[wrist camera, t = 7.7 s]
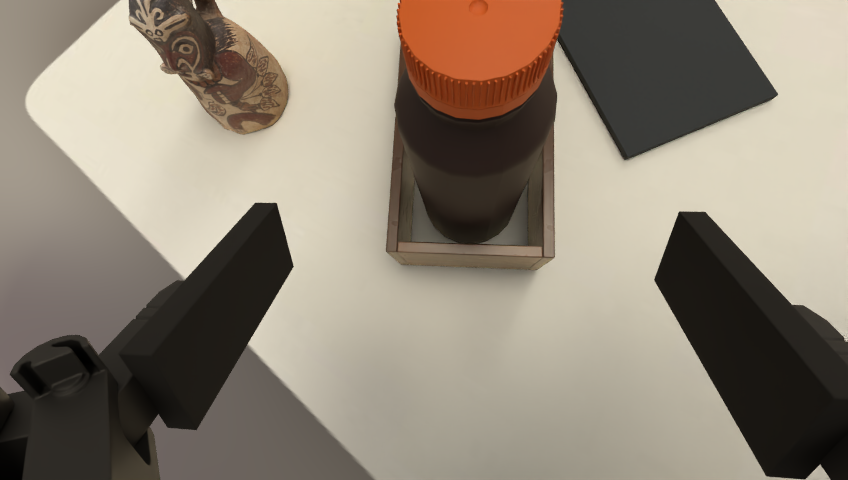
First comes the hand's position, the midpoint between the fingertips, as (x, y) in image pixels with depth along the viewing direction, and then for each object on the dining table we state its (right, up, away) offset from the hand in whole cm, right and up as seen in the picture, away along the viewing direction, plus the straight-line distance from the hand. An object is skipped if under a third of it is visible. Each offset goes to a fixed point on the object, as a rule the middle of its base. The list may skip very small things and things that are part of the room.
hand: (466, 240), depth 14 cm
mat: (+16, +17, +19) cm, 30 cm away
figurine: (-16, +12, +21) cm, 30 cm away
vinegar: (+2, +3, +18) cm, 18 cm away
